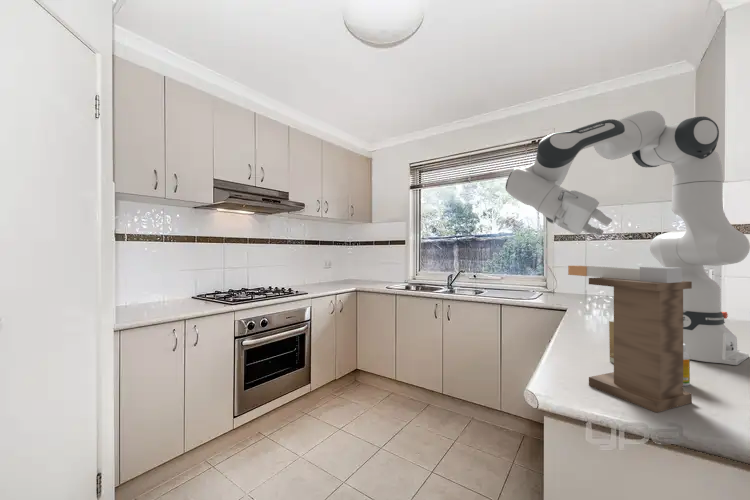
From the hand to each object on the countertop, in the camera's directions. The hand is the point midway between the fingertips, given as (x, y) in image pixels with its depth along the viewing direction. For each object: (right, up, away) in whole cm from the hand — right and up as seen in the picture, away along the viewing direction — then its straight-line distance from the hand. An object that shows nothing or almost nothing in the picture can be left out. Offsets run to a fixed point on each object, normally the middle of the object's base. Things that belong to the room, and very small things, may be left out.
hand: (605, 229), depth 87 cm
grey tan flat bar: (-4, -12, -9) cm, 16 cm away
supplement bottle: (+12, -39, -7) cm, 41 cm away
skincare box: (+10, -39, +6) cm, 40 cm away
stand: (-2, -38, -13) cm, 41 cm away
